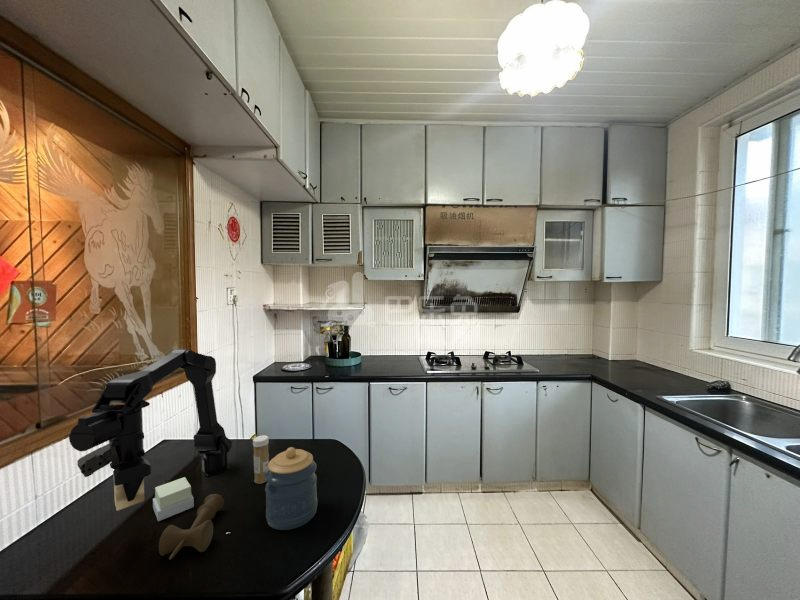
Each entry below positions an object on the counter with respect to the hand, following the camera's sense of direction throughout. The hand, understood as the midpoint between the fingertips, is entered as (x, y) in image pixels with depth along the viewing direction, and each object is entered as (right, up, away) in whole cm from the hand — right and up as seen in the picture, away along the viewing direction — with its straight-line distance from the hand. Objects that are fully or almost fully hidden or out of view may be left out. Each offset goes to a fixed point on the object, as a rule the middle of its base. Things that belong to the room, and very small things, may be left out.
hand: (129, 495), depth 77 cm
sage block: (+2, -8, +12) cm, 15 cm away
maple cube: (0, -1, 0) cm, 1 cm away
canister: (+36, -10, +8) cm, 38 cm away
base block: (+2, -11, +12) cm, 17 cm away
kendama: (+15, -11, +1) cm, 19 cm away
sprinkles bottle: (+21, -10, +24) cm, 34 cm away
